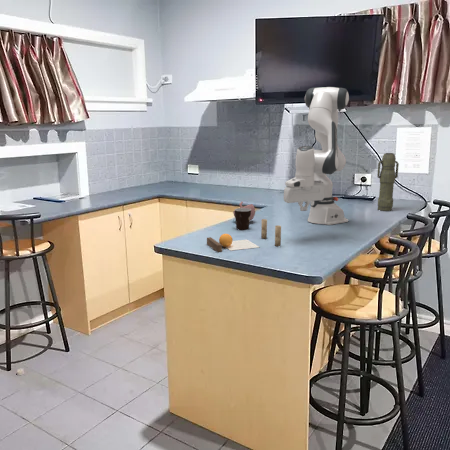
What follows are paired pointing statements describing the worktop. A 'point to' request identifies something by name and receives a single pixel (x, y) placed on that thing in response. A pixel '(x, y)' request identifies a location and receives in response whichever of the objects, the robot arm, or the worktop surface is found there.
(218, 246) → the stopper wall
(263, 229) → the post
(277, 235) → the post
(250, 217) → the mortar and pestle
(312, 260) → the worktop surface
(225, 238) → the ball
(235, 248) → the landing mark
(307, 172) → the robot arm
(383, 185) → the thermos
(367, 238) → the worktop surface
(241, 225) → the coffee mug
